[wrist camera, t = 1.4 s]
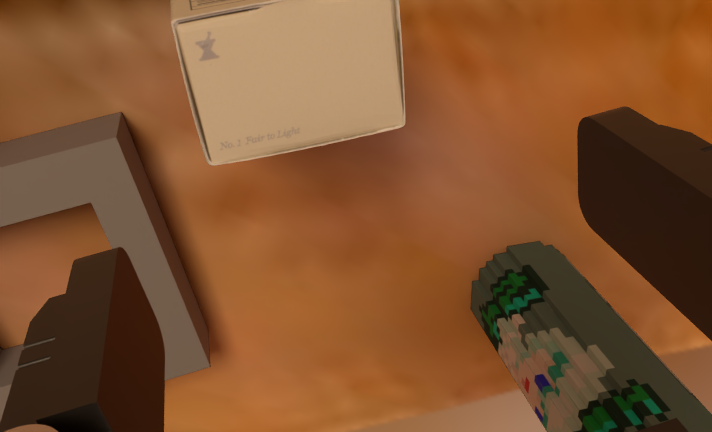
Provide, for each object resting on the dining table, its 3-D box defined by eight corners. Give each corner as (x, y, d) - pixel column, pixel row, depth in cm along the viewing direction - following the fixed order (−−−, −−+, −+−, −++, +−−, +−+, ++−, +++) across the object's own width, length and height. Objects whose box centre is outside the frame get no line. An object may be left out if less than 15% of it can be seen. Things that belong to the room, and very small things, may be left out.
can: (473, 252, 38) (621, 458, 25) (571, 235, 39) (761, 426, 27) (469, 335, 41) (599, 556, 28) (560, 317, 42) (725, 524, 30)
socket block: (121, 111, 30) (116, 137, 27) (208, 330, 37) (210, 366, 34) (-158, 183, 29) (-191, 217, 26) (-15, 396, 35) (-30, 439, 33)
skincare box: (191, 57, 29) (198, 175, 19) (166, -50, 27) (159, 19, 17) (331, 34, 30) (410, 134, 20) (318, -71, 28) (399, -20, 18)
